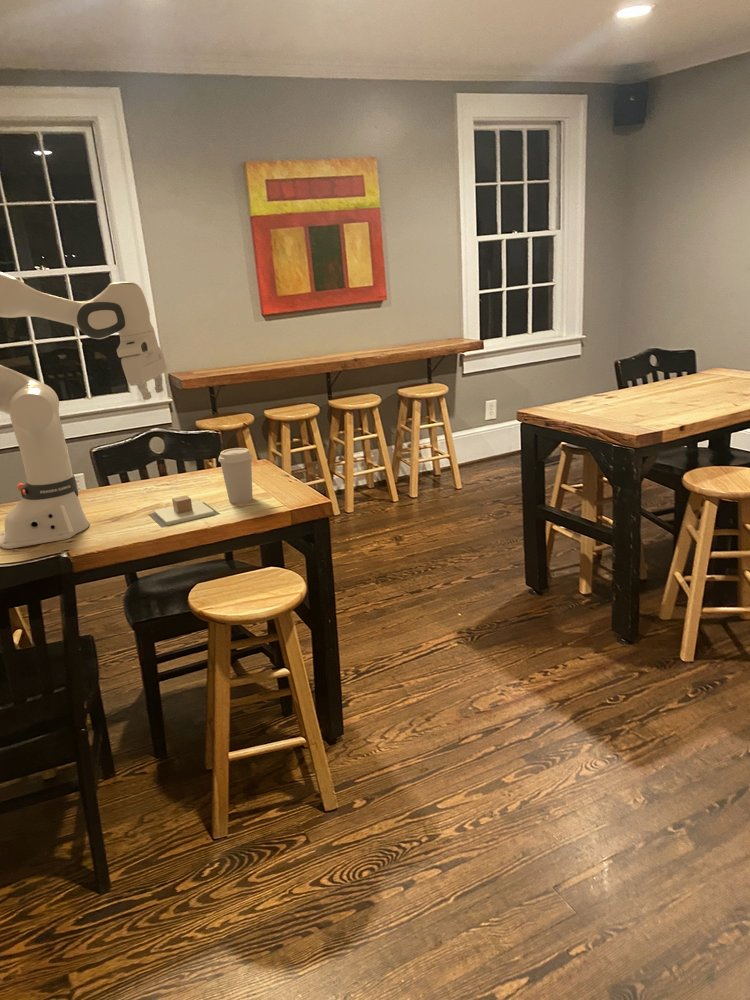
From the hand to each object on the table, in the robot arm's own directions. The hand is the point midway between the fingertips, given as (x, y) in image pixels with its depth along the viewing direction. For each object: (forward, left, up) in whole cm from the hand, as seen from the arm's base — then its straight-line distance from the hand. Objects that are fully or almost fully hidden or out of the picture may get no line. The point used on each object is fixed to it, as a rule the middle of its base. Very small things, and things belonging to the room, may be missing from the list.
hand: (154, 395), depth 195 cm
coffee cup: (+18, -7, -33) cm, 38 cm away
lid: (+1, -8, -32) cm, 33 cm away
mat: (+1, -8, -32) cm, 34 cm away
